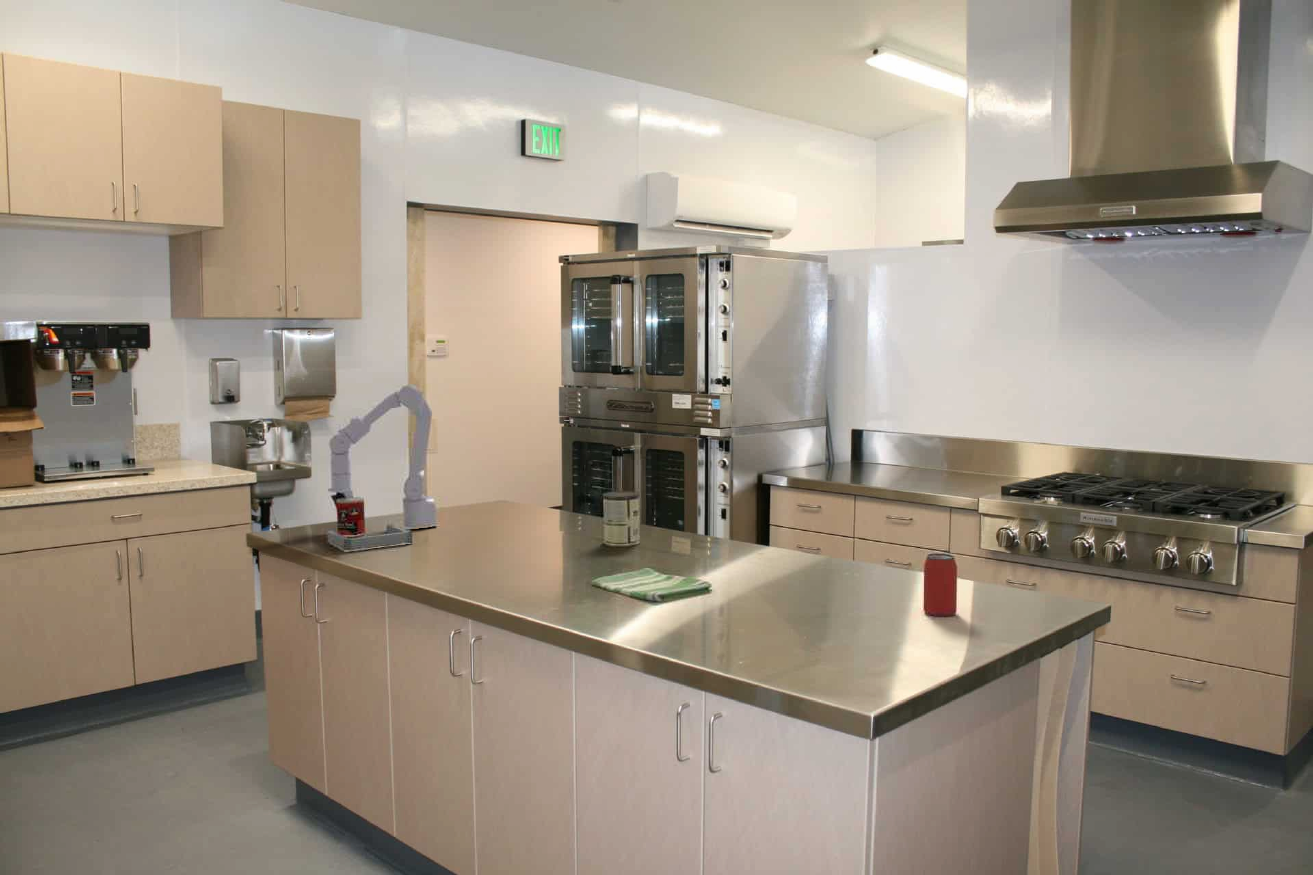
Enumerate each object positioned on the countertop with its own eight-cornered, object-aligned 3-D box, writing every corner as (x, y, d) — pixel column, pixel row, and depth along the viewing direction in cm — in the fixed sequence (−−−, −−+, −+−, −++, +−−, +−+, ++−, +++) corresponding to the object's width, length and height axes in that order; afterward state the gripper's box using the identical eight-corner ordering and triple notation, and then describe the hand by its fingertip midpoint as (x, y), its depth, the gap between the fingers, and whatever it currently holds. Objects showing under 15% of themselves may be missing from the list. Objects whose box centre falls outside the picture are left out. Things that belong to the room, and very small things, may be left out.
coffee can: (606, 539, 292) (605, 490, 290) (641, 539, 291) (641, 490, 289) (600, 546, 281) (600, 496, 280) (637, 546, 280) (637, 496, 279)
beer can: (931, 607, 213) (932, 551, 212) (961, 612, 209) (962, 555, 208) (917, 614, 208) (918, 556, 207) (948, 619, 204) (949, 560, 202)
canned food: (332, 537, 299) (331, 500, 298) (348, 532, 306) (346, 496, 305) (355, 538, 297) (353, 501, 296) (370, 533, 304) (368, 497, 303)
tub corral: (392, 535, 300) (391, 523, 300) (412, 544, 287) (412, 532, 287) (327, 543, 290) (327, 531, 289) (345, 552, 276) (345, 540, 276)
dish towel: (649, 575, 247) (649, 564, 247) (715, 592, 229) (714, 580, 229) (590, 587, 236) (590, 575, 236) (654, 606, 218) (654, 594, 218)
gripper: (320, 472, 310) (322, 515, 312) (335, 477, 298) (336, 522, 300) (343, 470, 314) (345, 513, 316) (358, 475, 302) (360, 519, 304)
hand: (342, 517), depth 308 cm, fingers closed
